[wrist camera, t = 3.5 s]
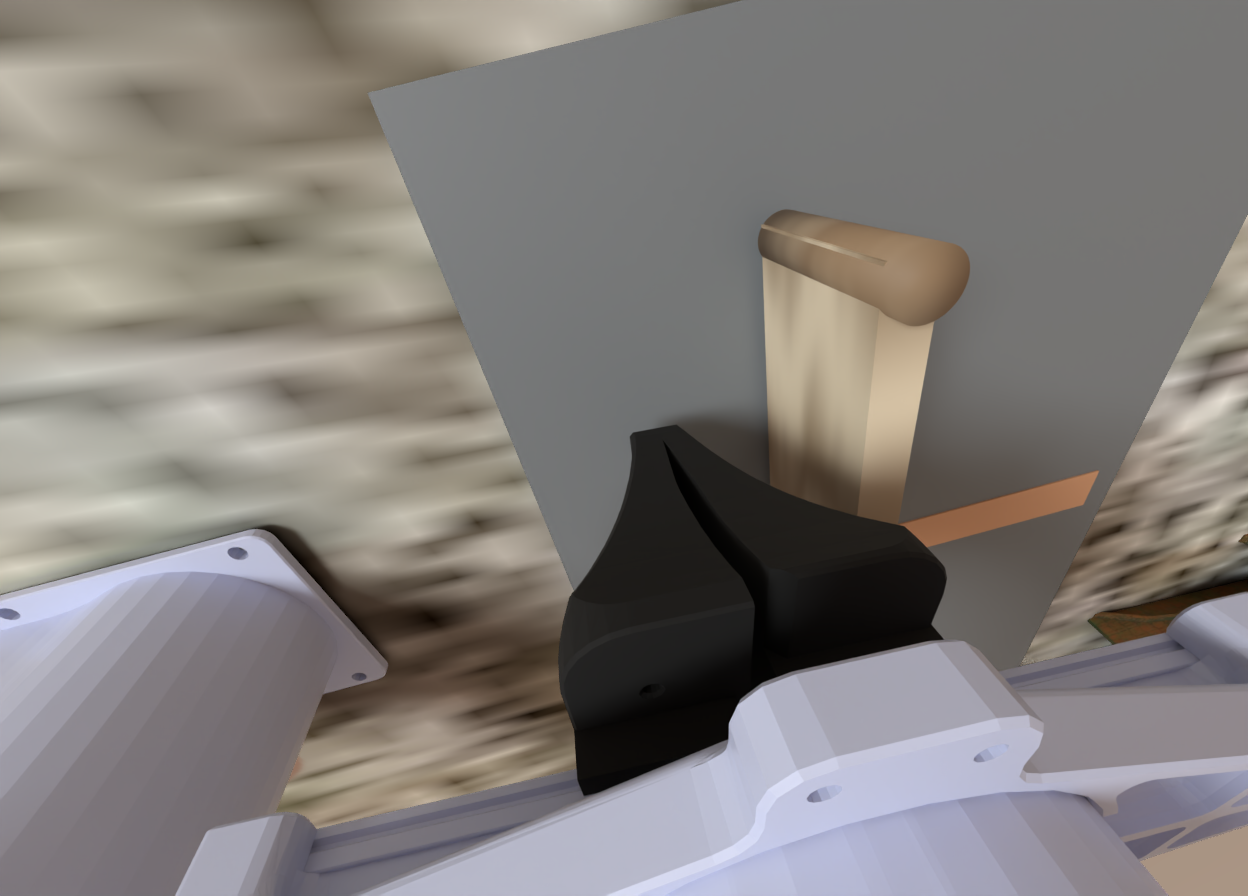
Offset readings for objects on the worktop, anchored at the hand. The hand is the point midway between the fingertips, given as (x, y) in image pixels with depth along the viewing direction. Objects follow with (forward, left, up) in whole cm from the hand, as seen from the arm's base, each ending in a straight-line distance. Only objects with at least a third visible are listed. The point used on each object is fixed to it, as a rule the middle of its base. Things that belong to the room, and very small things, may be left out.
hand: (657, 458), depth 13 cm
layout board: (+7, -7, -2) cm, 10 cm away
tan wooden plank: (+4, -1, -1) cm, 4 cm away
